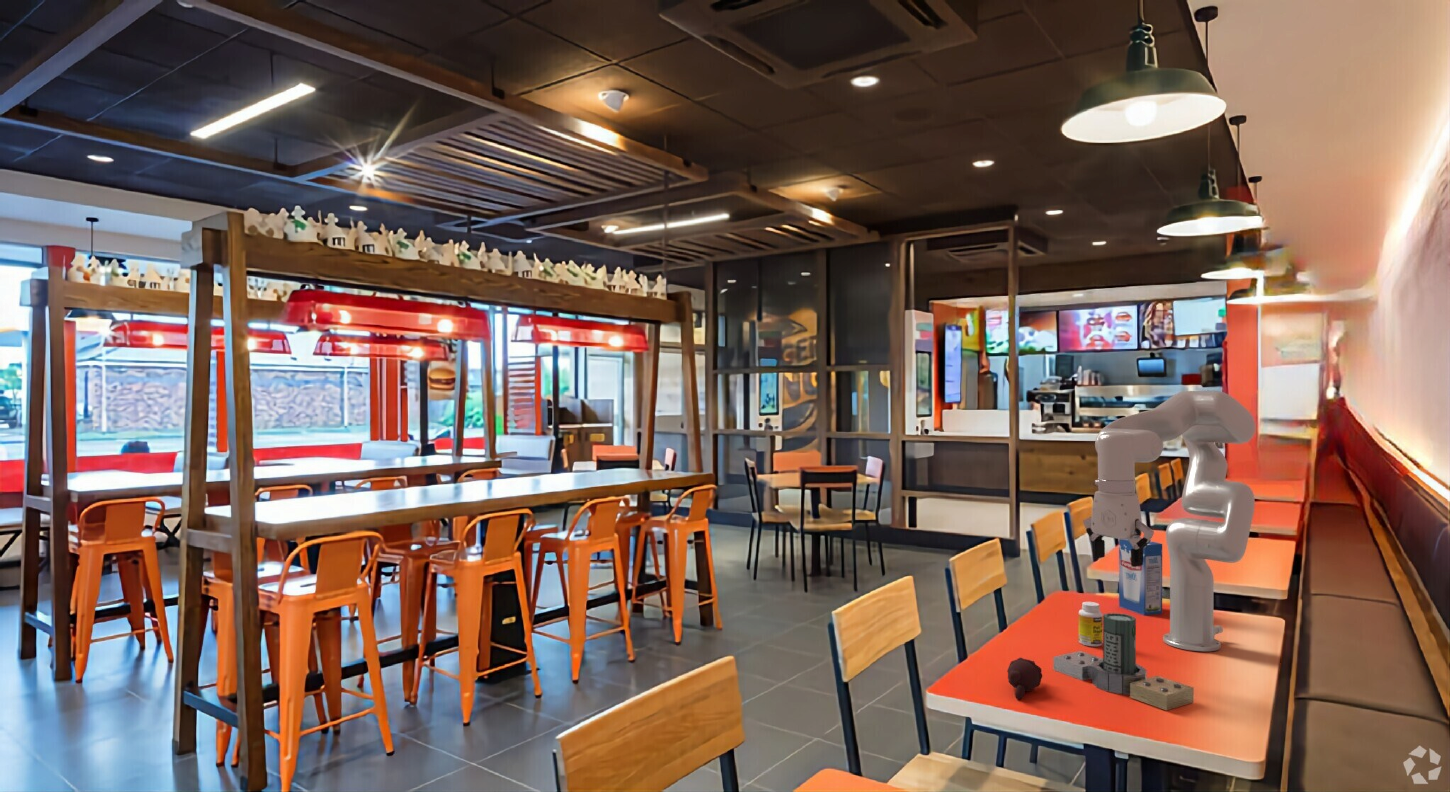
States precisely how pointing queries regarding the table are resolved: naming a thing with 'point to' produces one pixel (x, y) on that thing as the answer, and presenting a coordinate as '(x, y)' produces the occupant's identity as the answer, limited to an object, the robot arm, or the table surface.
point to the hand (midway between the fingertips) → (1117, 561)
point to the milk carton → (1141, 579)
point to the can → (1119, 643)
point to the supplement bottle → (1090, 624)
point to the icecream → (1024, 676)
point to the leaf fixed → (1096, 672)
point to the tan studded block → (1161, 692)
